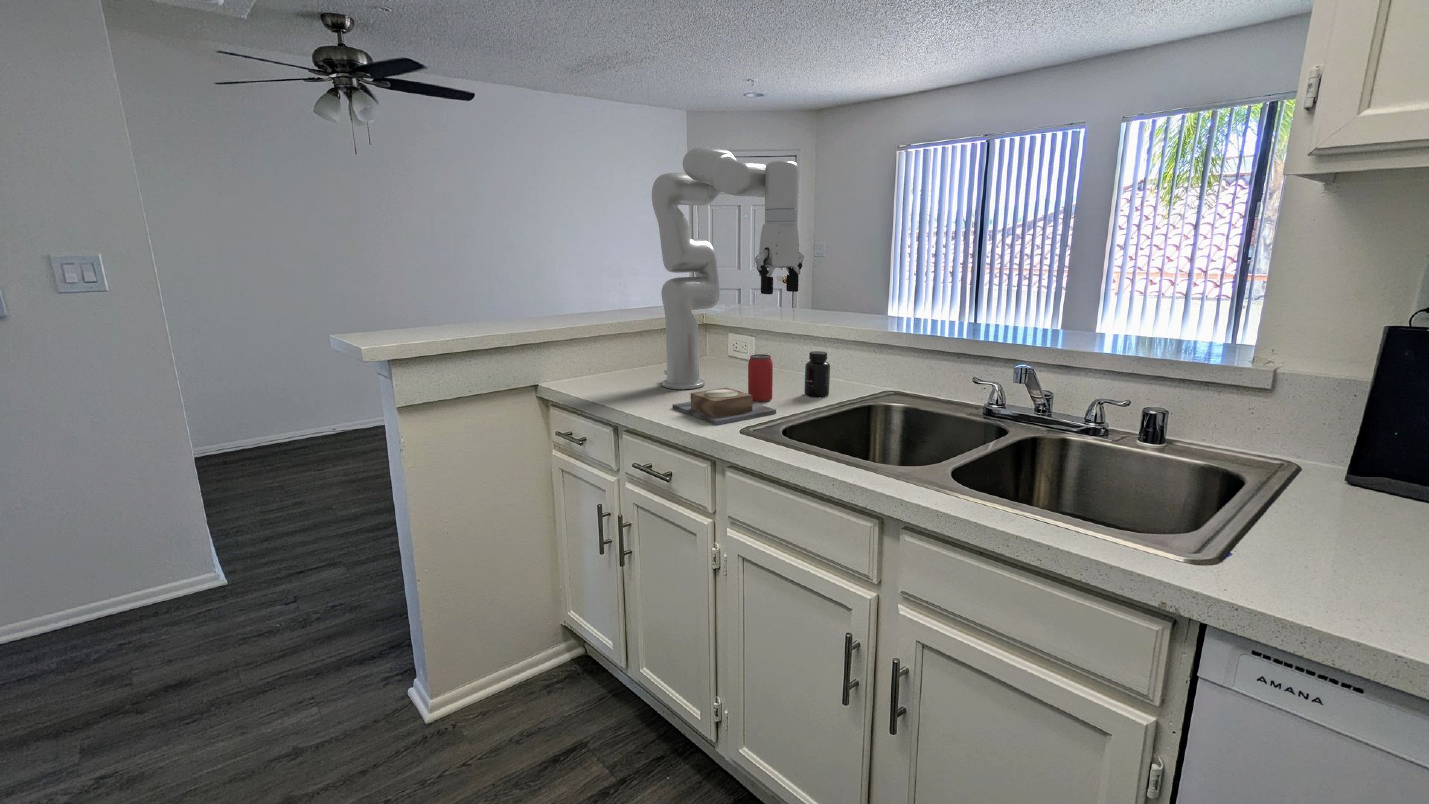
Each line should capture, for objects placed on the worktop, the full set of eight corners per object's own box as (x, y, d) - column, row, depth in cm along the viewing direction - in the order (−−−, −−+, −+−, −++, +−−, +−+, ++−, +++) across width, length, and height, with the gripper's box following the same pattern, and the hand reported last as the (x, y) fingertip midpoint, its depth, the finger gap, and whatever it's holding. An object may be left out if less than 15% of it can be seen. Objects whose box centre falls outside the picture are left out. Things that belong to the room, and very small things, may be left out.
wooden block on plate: (672, 408, 173) (671, 388, 171) (729, 398, 183) (729, 379, 181) (716, 425, 157) (716, 403, 155) (776, 413, 166) (776, 393, 165)
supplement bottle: (801, 396, 184) (802, 353, 181) (807, 391, 190) (808, 349, 187) (826, 398, 181) (827, 355, 179) (831, 393, 188) (833, 351, 185)
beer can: (770, 403, 177) (771, 358, 174) (746, 402, 179) (746, 357, 176) (773, 397, 183) (774, 354, 181) (749, 396, 185) (750, 353, 182)
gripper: (790, 218, 163) (789, 289, 167) (744, 217, 151) (743, 294, 155) (816, 218, 158) (814, 291, 162) (770, 216, 146) (769, 296, 150)
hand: (779, 292), depth 159 cm, fingers open, 9 cm apart
